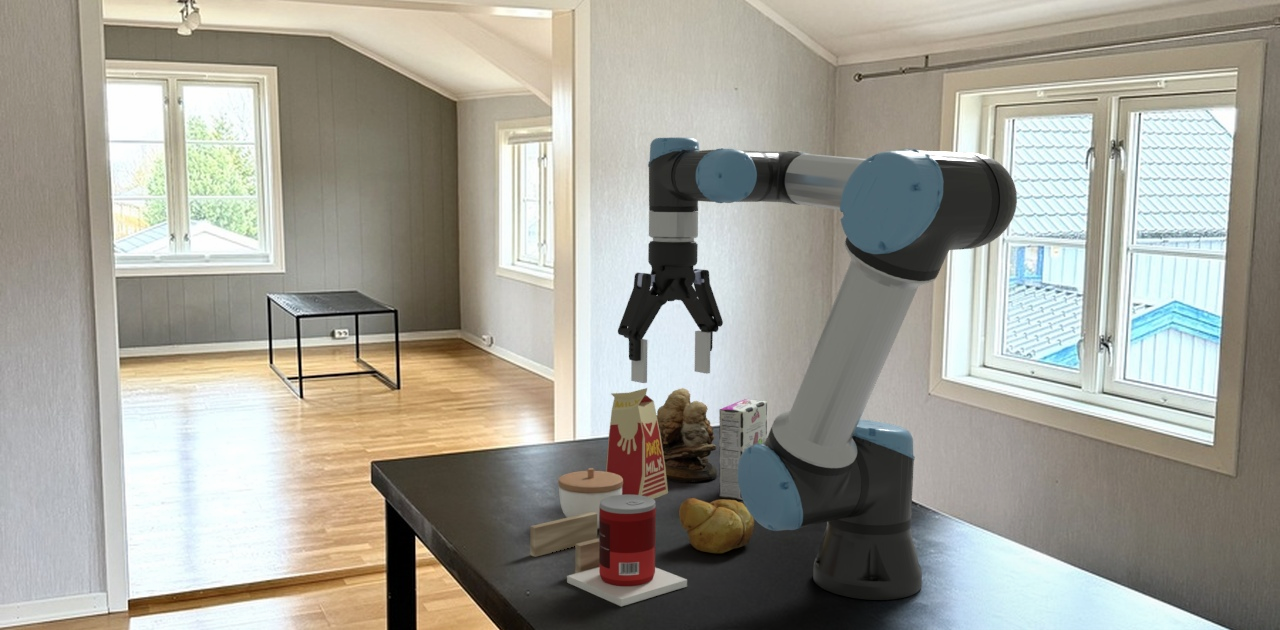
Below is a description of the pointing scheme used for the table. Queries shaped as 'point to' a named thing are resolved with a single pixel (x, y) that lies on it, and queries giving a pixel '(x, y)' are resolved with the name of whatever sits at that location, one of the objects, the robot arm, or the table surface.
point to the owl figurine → (686, 438)
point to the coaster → (626, 594)
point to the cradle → (568, 539)
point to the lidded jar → (587, 491)
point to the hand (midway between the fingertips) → (671, 377)
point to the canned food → (627, 539)
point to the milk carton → (636, 445)
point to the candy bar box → (739, 439)
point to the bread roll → (716, 524)
